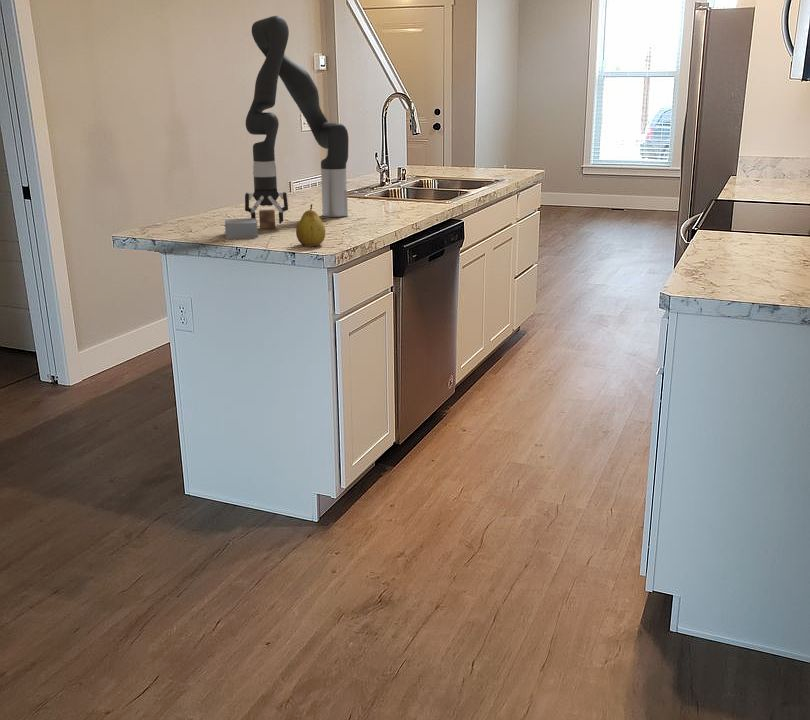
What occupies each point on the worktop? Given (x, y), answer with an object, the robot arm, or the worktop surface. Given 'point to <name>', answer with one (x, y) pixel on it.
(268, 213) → the walnut block
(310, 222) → the fruit
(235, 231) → the base block
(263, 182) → the robot arm
